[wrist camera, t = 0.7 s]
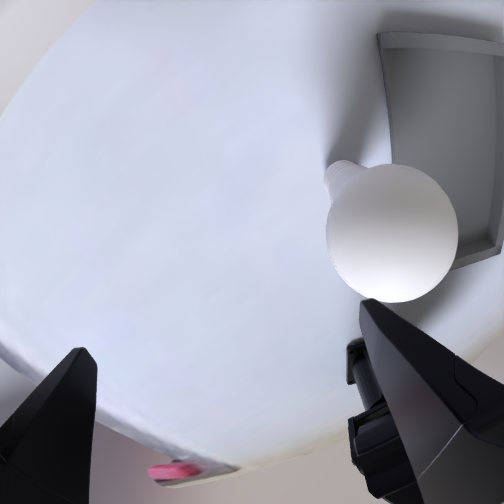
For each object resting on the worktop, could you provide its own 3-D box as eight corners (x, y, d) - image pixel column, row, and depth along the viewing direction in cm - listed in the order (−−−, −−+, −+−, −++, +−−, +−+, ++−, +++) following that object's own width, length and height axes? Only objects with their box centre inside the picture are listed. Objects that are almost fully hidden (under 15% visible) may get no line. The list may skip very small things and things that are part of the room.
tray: (488, 242, 24) (500, 253, 22) (392, 270, 25) (402, 285, 23) (494, 43, 15) (512, 45, 13) (376, 33, 15) (391, 31, 13)
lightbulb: (277, 151, 19) (331, 240, 10) (365, 115, 18) (482, 172, 9) (311, 230, 22) (367, 352, 13) (388, 196, 21) (482, 293, 12)
